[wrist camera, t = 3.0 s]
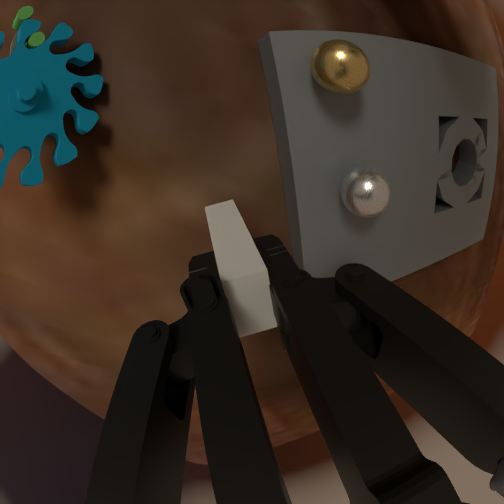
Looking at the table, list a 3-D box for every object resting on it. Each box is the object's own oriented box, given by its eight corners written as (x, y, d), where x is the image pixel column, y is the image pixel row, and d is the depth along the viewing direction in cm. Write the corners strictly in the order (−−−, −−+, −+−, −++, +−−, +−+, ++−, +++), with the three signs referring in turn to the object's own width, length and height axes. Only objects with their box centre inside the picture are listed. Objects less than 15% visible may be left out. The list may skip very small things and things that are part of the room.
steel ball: (329, 163, 16) (357, 178, 13) (371, 156, 16) (402, 170, 14) (332, 210, 18) (357, 232, 15) (371, 200, 18) (400, 219, 15)
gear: (115, 162, 14) (-47, 221, 6) (79, 170, 17) (-39, 216, 9) (109, 1, 9) (-40, 13, 2) (72, 39, 12) (-44, 59, 5)
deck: (296, 294, 24) (307, 313, 22) (257, 40, 13) (268, 31, 11) (469, 229, 26) (483, 239, 24) (477, 65, 16) (495, 67, 13)
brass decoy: (296, 44, 12) (322, 33, 9) (345, 44, 12) (377, 37, 9) (305, 96, 13) (333, 96, 11) (353, 93, 14) (385, 95, 11)
